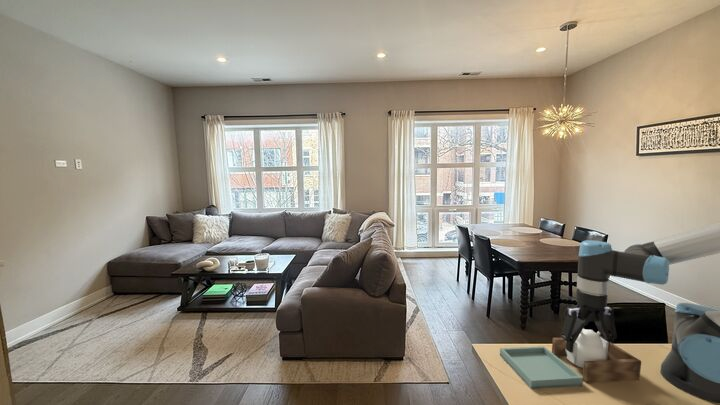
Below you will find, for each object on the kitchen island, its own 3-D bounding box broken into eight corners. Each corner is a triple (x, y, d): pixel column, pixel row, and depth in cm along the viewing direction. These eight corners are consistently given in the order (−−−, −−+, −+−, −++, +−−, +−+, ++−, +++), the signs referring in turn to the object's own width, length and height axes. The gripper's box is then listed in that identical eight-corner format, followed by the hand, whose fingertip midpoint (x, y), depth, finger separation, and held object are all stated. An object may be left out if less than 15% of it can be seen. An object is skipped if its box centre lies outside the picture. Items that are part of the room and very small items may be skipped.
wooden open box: (598, 352, 100) (599, 335, 99) (639, 380, 86) (641, 361, 86) (551, 354, 98) (552, 337, 98) (586, 383, 85) (587, 363, 84)
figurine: (614, 379, 86) (617, 340, 85) (576, 374, 88) (579, 336, 87) (594, 359, 96) (597, 324, 95) (561, 355, 98) (563, 320, 97)
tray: (543, 353, 99) (544, 346, 99) (582, 385, 84) (582, 377, 84) (499, 355, 98) (500, 348, 98) (530, 389, 82) (531, 380, 82)
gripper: (613, 285, 94) (608, 351, 96) (548, 287, 93) (544, 354, 94) (637, 294, 87) (631, 366, 89) (567, 297, 85) (562, 370, 87)
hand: (586, 360), depth 92 cm, fingers closed on figurine, 10 cm apart
